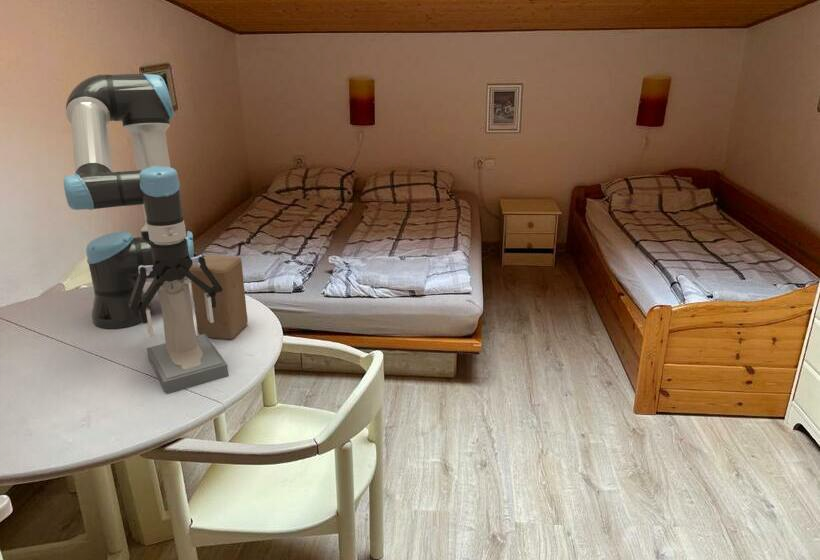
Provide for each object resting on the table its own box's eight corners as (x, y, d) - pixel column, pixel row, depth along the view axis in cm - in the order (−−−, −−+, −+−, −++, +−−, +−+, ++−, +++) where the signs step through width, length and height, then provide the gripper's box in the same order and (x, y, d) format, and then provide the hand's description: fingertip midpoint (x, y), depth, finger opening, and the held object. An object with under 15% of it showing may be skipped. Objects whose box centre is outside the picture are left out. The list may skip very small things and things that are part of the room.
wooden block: (232, 341, 152) (223, 269, 144) (196, 337, 153) (186, 266, 146) (249, 324, 161) (242, 256, 153) (215, 320, 163) (207, 252, 155)
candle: (176, 372, 131) (163, 290, 124) (164, 346, 142) (151, 269, 134) (209, 364, 135) (198, 284, 127) (194, 339, 146) (184, 264, 138)
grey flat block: (148, 358, 143) (146, 347, 142) (206, 343, 150) (204, 332, 149) (165, 393, 129) (163, 381, 128) (228, 375, 136) (227, 363, 135)
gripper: (108, 255, 118) (126, 347, 126) (230, 235, 131) (239, 320, 139) (103, 244, 124) (120, 334, 132) (219, 226, 137) (229, 309, 145)
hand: (181, 327), depth 136 cm, fingers open, 13 cm apart
